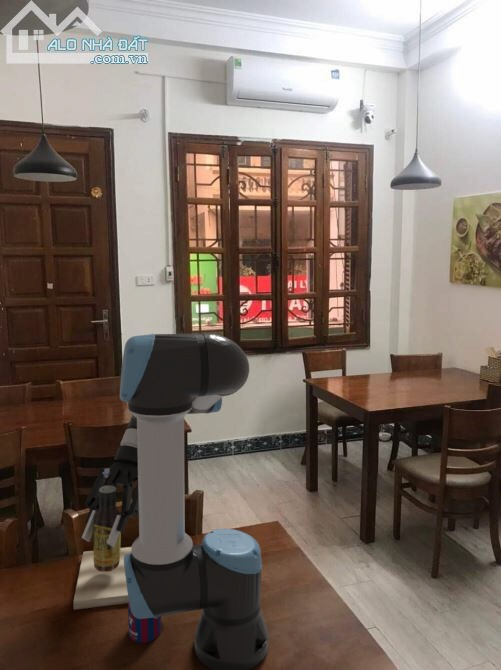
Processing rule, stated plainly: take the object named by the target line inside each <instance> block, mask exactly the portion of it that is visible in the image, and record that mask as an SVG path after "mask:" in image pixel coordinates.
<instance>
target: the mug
mask: <svg viewBox="0 0 501 670" xmlns="http://www.w3.org/2000/svg"><path fill="white" fill-rule="evenodd" d="M127 616H128V617H127V620H128V624H127V626H128V637H129V638H130V640H131V641H133V642H136V643H141V644H146V643H149V642H152V641H154V640H155V639H157V638H158V636H159V635H160V634H161V631H162V617H163V616H160V617H158V618H145V619H138V618H136V617H134V615H133V614H132V612H131V608H130V603H129V602H128V603H127Z"/></svg>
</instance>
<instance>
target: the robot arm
mask: <svg viewBox="0 0 501 670" xmlns="http://www.w3.org/2000/svg"><path fill="white" fill-rule="evenodd" d="M249 374H250V362H249V360H248V357H247V354H246V353H245V351H244V350H243V349H242V347H241V346H239V345H238V344H237V343H236V342H235V341H233V340H232V339H230V338H227V337H226V336H224V335H223V336H222V335H220V334H218V333H212V332H211V333H209V332H201V333H150V334H144V335H143V334H142V335H134V336H131V337H129V338H128V339H127V341H126V342H125V343H124V348H123V355H122V363H121V372H120V384H119V385H120V386H119V399H120V401H121V402H124V403H127V406H128V407H127V409H128V412H129V413H130V414H131V417H130V419H129V423H128V425H127V427H126V429H125V431H124V434H123V436H122V440H121V441H120V446H119V447H118V449H117V451H116V453H115V456H114V460H113V464H111V465H110V466H109V467H108V468H107V467H106V468H104V467H102V466H101V467H100V468H99V469H98V473H97V477H96V479H95V481H94V483H93V486H92V487H91V490H90V492H89V494H88V495H87V497H86V499H85V502H84V506H86V507H87V508H88V509H89V511H88V514H87V516H86V518H85V520H84V523H85V524H86V526H85V528H84V531H83V533H82V536H81V539H83V540H85V541H86V542H91V539H92V536H93V535H94V521H95V517H96V514H97V511H98V509H99V489H100V488H101V487H103V486H108V485H109V486H114V487H116V489H117V488H118V487H122V488H123V489H122V500H121V511H120V515H117V517H116V520H115V522H114V525H113V527H112V530H111V533H110V535H109V538H108V541H107V544H109V545H110V546H112V547H115V544H116V541H117V538H118V536H119V533H120V532H121V533H123V532H124V531H125V528H126V525H127V523H128V520H129V519H130V518H137V517H138V533H139V534H138V535H139V536H138V537H137V538H136V539H135V540H134V541H133V542H132V545H131V547H132V548H131V553H129V554H127V555H125V556H124V569H125V577H126V583H127V592H128V598H129V603H130V608H131V612H132V614H133V615H134V617H136V618H138V619H145V618H158V617H160V616H162V617H165V616H171V615H177V614H181V613H188V612H195V611H198V610H202V612H201V615H200V618H199V620H198V623H197V626H196V628H195V633H194V651H195V655H196V657H197V658H198V660H199V661H200V663H202V664H203V665H204V666H205V667H207V668H208V669H211V670H251V669H253V668H255V667H257V666H259V664H260V663H261V662H262V661H263V660H264V659H265V657H266V656H267V654H268V650H269V631H268V627H267V625H266V621H265V619H264V616H263V612H262V610H261V597H262V596H261V595H262V594H261V592H262V591H261V590H262V569H263V563H262V551H261V546H260V545H259V543H258V541H257V540H256V539H255V538H254V537H253V536H251V535H250V534H248V533H246V532H243V531H242V530H237V529H235V528H234V529H232V528H217V529H214V530H211V531H210V532H207V533H205V535H204V537H203V539H202V541H201V543H198V544H193V540H192V537H191V536H190V535H188V534H187V533H186V531H185V530H186V528H185V525H186V524H185V522H186V521H185V520H186V519H185V518H186V517H185V515H186V513H185V512H186V511H185V509H186V507H185V497H186V495H185V488H186V487H185V486H186V484H185V417H186V416H187V415H193V414H197V415H198V414H206V415H207V414H211V413H217V412H220V410H221V409H222V406H223V397H226V396H227V397H228V396H231V395H233V394H234V393H235V394H236V393H237V392H238V391H239V390H241V389H242V388H243V387H244V385H245V384H246V383H247V381H248V377H249ZM109 476H110V477H109ZM107 478H108V479H107ZM136 481H137V483H136V487H135V491H134V493H133V490H134V483H135V482H136ZM132 495H133V497H132Z"/></svg>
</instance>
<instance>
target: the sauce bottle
mask: <svg viewBox="0 0 501 670" xmlns="http://www.w3.org/2000/svg"><path fill="white" fill-rule="evenodd" d="M116 495H117V488H116V487H114V486H109V485H108V486H105V485H104V486H103V487H101V488H100V489H99V509H98V511H97V514H96V517H95V521H94V532H93V539H92V540H93V550H92V551H93V552H94V559H93V561H94V567H95V568H96V569H97V570H98V571H102V572H106V571H107V572H109V571H112V570H113V569H115V568H117V567H118V565H119V561H120V548H121V534H122V532H120V533H119V536H118V538H117V541H116V544H115V547H112V546H110V545H109V544H107V541H108V538H109V535H110V533H111V530H112V527H113V525H114V522H115V520H116V517H117V515H120V516H121V514H120V513H121V511H120V510H119V509H118V508H117V506H116V505H117V502H116Z"/></svg>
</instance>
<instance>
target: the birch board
mask: <svg viewBox="0 0 501 670" xmlns="http://www.w3.org/2000/svg"><path fill="white" fill-rule="evenodd" d="M131 548H132V546H128V547H127V546H126V547H120V561H119V565H118V567H117V568H115V569H113V570H112V571H109V572H107V571H106V572H102V571H98V570H97V569H96V568H95V567H94V561H93V559H94V552H93V550H87V551H83V553H82V557H81V563H80V566H79V572H78V578H77V582H76V586H75V593H74V597H73V611H74V610H82V609H89V608H99V607H106V606H115V605H125V604H128V602H129V598H128V592H127V583H126V577H125V569H124V556H125V555H127V554H129V553H131Z"/></svg>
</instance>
